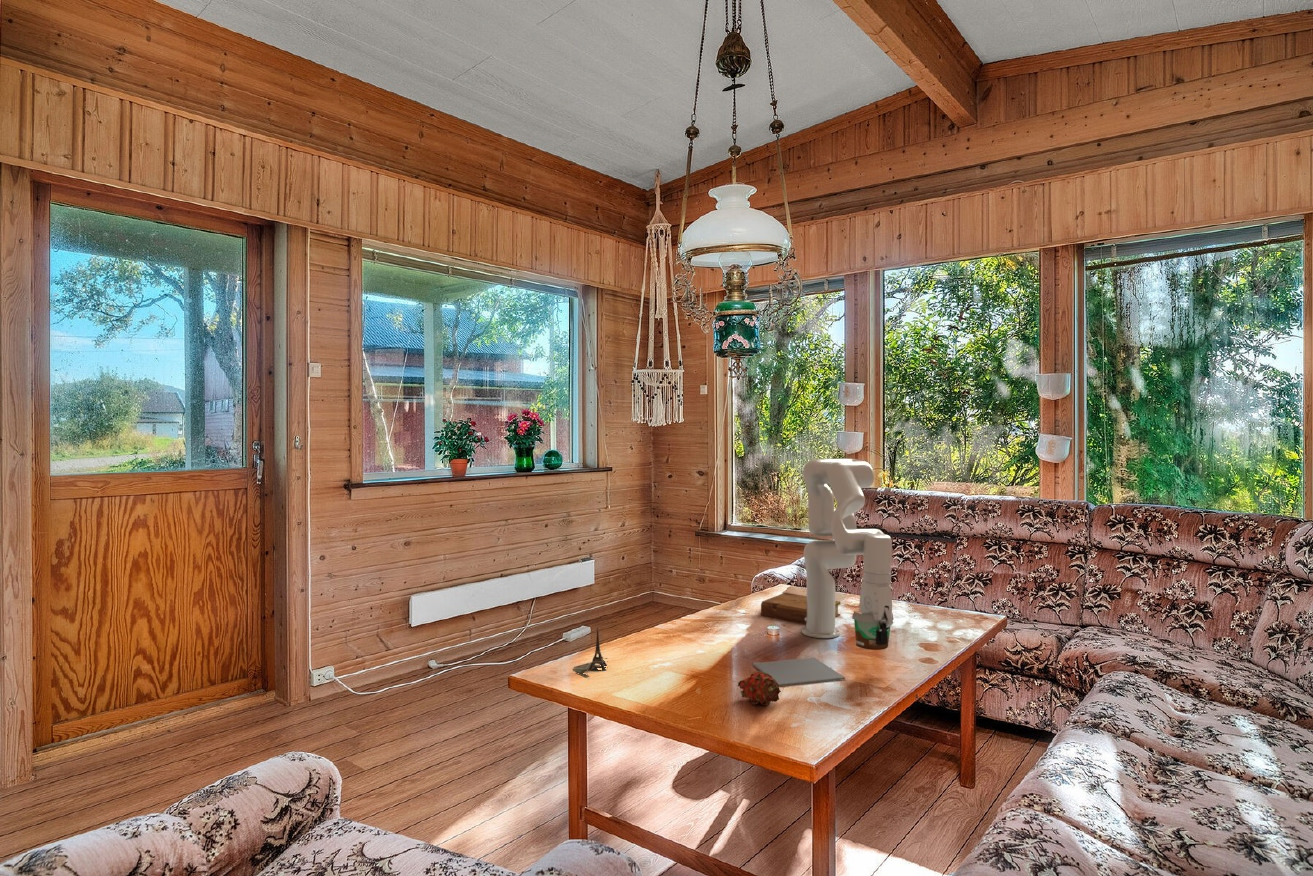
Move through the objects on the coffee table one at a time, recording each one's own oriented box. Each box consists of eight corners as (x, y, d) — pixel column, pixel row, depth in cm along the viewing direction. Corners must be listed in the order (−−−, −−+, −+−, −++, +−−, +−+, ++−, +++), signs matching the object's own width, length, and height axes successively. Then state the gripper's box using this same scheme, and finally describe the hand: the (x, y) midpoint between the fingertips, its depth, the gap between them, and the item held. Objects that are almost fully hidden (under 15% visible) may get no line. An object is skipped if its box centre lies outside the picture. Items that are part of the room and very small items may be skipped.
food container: (863, 653, 203) (863, 617, 203) (851, 646, 209) (852, 611, 209) (902, 649, 206) (902, 614, 206) (889, 642, 212) (890, 608, 212)
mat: (753, 665, 217) (753, 663, 217) (814, 659, 222) (814, 657, 222) (779, 686, 200) (779, 684, 200) (845, 679, 205) (845, 677, 205)
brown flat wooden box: (761, 617, 273) (760, 601, 272) (785, 607, 287) (785, 592, 287) (818, 627, 258) (818, 611, 258) (840, 616, 273) (840, 601, 273)
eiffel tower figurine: (606, 659, 224) (606, 616, 224) (628, 668, 216) (628, 623, 216) (566, 670, 214) (566, 625, 214) (586, 680, 206) (586, 632, 206)
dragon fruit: (781, 716, 183) (740, 711, 191) (791, 688, 189) (751, 684, 197) (767, 694, 180) (726, 690, 187) (778, 666, 186) (738, 663, 193)
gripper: (849, 571, 214) (848, 633, 215) (882, 586, 198) (881, 652, 199) (872, 570, 216) (870, 631, 217) (906, 584, 200) (905, 650, 201)
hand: (875, 640), depth 208 cm, fingers closed on food container, 5 cm apart
